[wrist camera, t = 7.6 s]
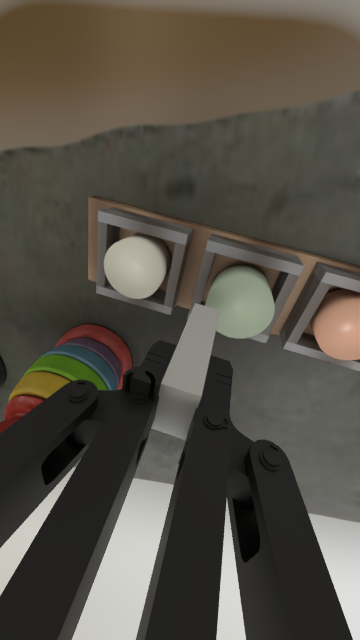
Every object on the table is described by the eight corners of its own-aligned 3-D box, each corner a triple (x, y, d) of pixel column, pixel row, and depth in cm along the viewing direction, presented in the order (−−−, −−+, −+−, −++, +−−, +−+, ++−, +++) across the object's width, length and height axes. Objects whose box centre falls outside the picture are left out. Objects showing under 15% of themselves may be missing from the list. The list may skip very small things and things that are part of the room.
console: (93, 276, 27) (73, 289, 24) (94, 196, 22) (71, 199, 19) (373, 357, 24) (391, 383, 21) (433, 286, 20) (467, 305, 17)
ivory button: (117, 277, 24) (102, 289, 22) (121, 225, 22) (105, 232, 19) (165, 291, 24) (156, 305, 21) (175, 240, 21) (166, 249, 19)
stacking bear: (53, 355, 35) (-92, 492, 20) (74, 304, 29) (-102, 440, 14) (118, 394, 36) (29, 552, 21) (150, 353, 30) (62, 525, 15)
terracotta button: (298, 330, 23) (305, 349, 20) (326, 281, 20) (338, 296, 18) (352, 346, 22) (366, 367, 20) (388, 298, 20) (410, 316, 17)
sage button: (203, 310, 22) (198, 327, 20) (219, 257, 20) (215, 269, 17) (257, 326, 22) (259, 346, 19) (280, 274, 19) (286, 289, 17)
